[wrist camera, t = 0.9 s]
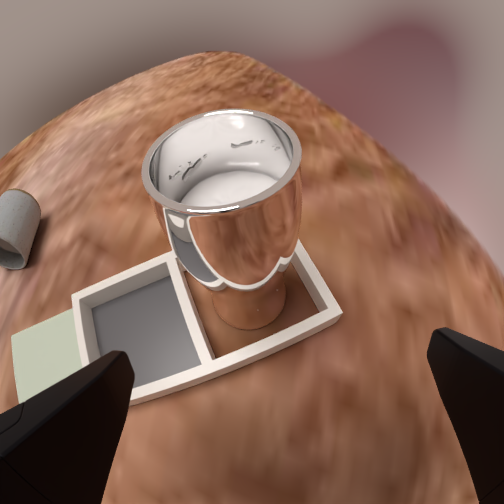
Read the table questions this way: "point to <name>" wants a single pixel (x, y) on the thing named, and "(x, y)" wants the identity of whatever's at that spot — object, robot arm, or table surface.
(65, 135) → the table surface
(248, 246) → the shiny metal tumbler
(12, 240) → the ceramic mug
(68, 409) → the robot arm
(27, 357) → the white divided tray
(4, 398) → the table surface
